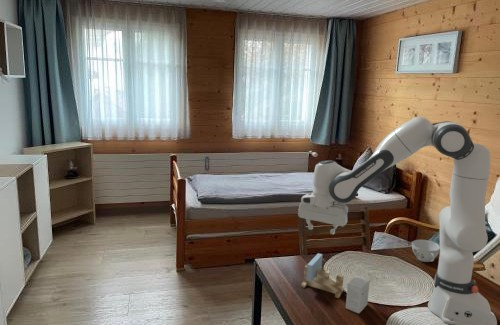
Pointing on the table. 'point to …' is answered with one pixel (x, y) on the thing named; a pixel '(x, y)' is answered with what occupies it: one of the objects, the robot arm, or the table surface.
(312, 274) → the blue slat
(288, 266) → the table surface
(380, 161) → the robot arm
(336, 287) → the pine rail
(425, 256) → the teacup
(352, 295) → the small box
